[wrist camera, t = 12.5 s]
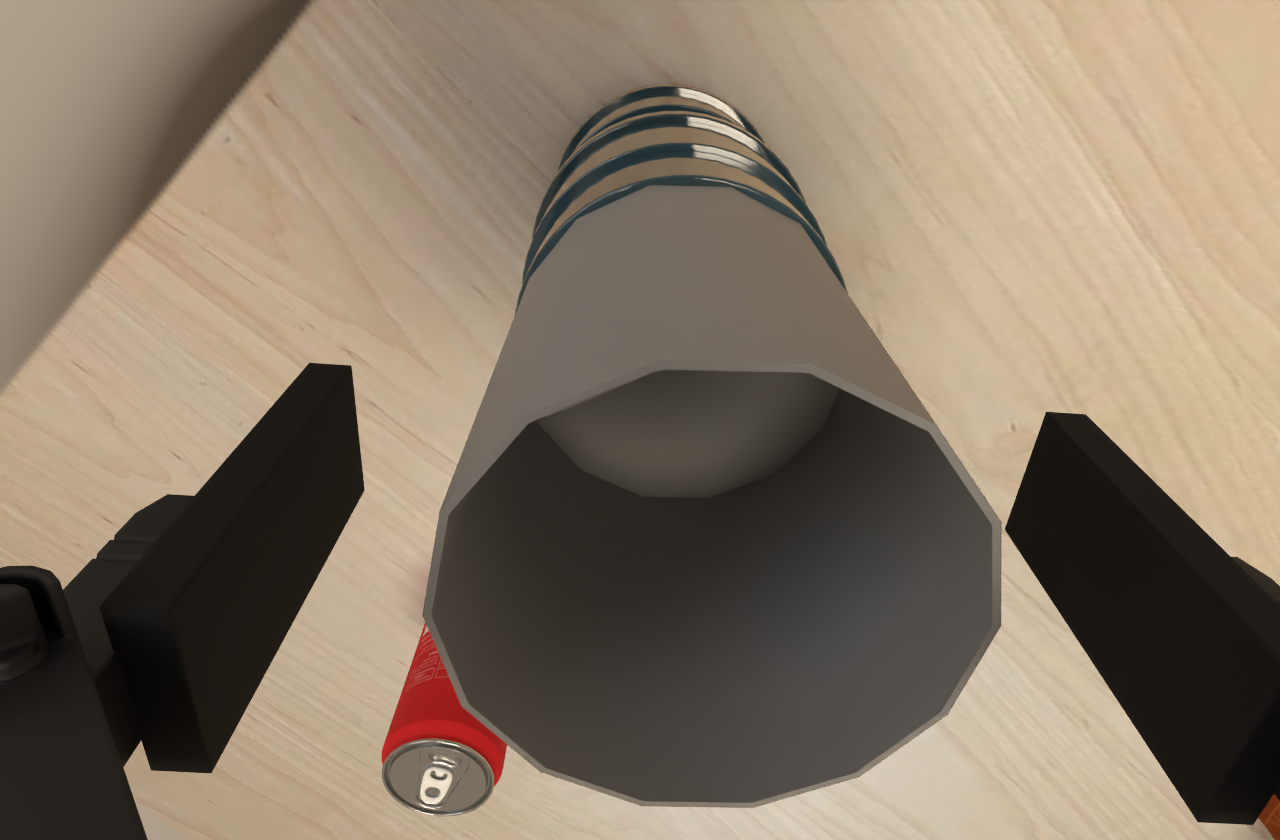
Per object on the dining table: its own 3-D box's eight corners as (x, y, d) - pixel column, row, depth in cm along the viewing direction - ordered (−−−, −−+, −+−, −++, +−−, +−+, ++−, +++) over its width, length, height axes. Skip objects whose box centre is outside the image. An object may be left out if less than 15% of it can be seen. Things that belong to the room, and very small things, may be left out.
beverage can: (544, 570, 44) (514, 754, 33) (518, 638, 46) (482, 831, 36) (450, 544, 43) (389, 724, 33) (429, 615, 46) (364, 804, 35)
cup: (872, 190, 19) (1077, 369, 10) (826, 490, 23) (945, 811, 14) (507, 181, 19) (388, 355, 10) (522, 484, 23) (447, 802, 14)
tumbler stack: (558, 74, 32) (495, 141, 18) (792, 93, 33) (906, 173, 19) (553, 298, 37) (498, 491, 23) (759, 313, 37) (831, 512, 23)
